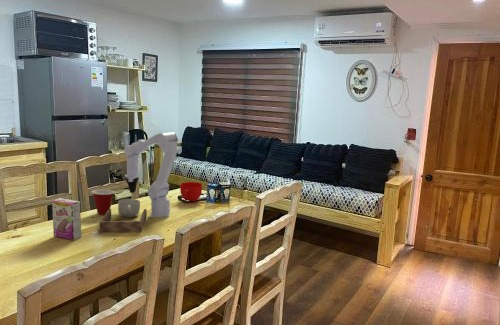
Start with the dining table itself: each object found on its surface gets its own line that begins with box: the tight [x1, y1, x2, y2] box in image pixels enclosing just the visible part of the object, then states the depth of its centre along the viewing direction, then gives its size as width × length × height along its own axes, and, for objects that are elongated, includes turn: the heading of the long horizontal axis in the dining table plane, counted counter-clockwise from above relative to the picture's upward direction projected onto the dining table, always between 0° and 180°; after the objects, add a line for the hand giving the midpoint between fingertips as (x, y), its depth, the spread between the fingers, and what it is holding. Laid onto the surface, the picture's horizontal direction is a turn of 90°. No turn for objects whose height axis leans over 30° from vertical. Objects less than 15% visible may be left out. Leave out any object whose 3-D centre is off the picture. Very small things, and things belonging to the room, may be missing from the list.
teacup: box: [117, 198, 141, 218], centre depth 198 cm, size 14×11×8 cm
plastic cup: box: [91, 189, 115, 216], centre depth 202 cm, size 11×11×12 cm
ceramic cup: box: [179, 181, 203, 202], centre depth 229 cm, size 13×17×10 cm
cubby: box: [98, 208, 148, 234], centre depth 186 cm, size 18×19×5 cm
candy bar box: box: [51, 197, 82, 241], centre depth 168 cm, size 11×5×16 cm, turn 71°
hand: (132, 191), depth 211 cm, fingers open, 3 cm apart
